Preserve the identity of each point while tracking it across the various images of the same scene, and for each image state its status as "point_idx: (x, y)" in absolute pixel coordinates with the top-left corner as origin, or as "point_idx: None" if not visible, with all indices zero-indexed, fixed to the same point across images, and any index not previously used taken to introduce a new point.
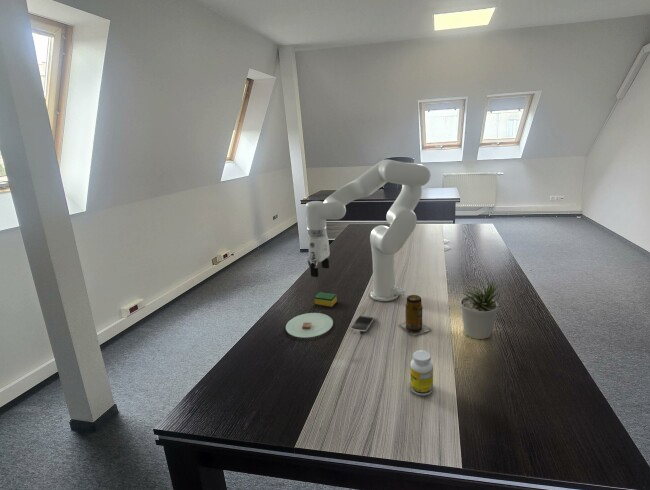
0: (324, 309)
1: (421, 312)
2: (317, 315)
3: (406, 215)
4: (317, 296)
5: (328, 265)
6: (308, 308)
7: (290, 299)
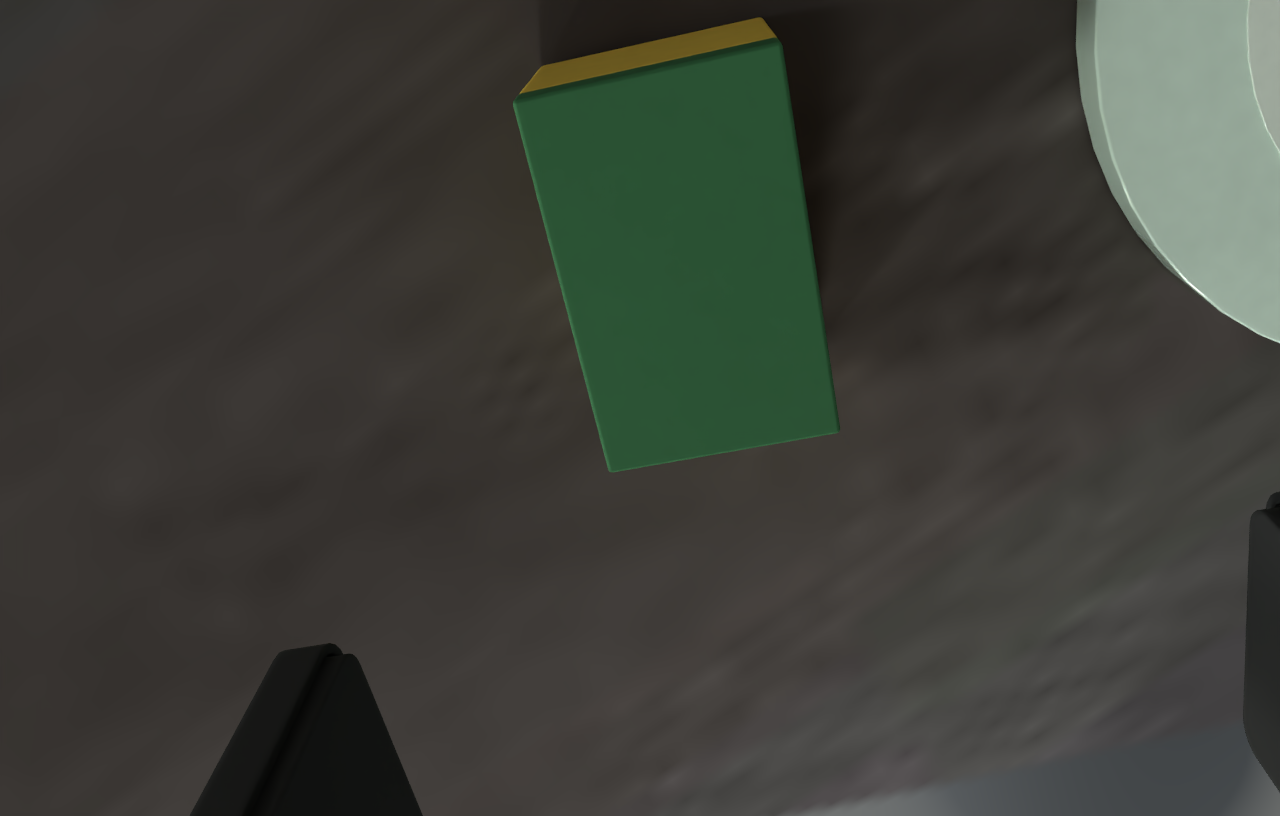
0: (830, 141)
1: None
2: (1191, 46)
3: None
4: (794, 391)
5: (288, 722)
6: (913, 402)
7: (784, 778)
